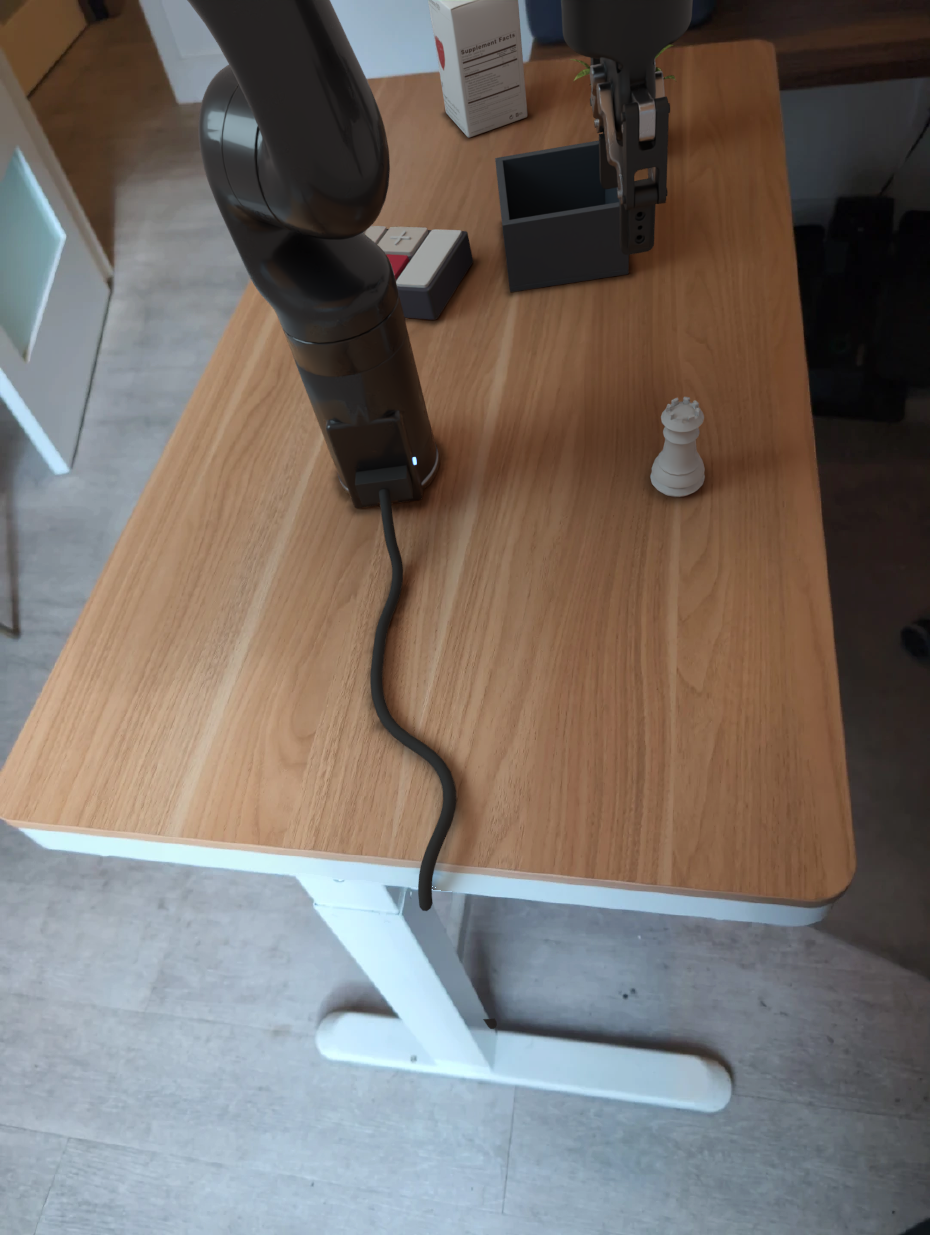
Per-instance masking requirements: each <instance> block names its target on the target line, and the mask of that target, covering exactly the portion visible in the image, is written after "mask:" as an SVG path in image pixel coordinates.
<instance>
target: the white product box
mask: <svg viewBox="0 0 930 1235" xmlns="http://www.w3.org/2000/svg"><path fill="white" fill-rule="evenodd" d="M427 3H428V10H429V15H430V22H431V28H432V29H431V30H432V34H433V41H434V47H435V53H436V60H437V65H438V71H439V79H440V84H441V90H442V97H443V102H444V109H445V110H444V111H445V114H446V115H447V116H448V117H449V118H450V119H451V120H452V121H453V122H454V124H455V125H456V126H457V127H458V128H459V129H460V130H461V131H462V133H464V135H465V136H466V137H467V138H472V137H475V136H478V135H481V134H483V133H486V132H489V131H491V130H492V131H493V130H496V129H498V128H501V127H503V126H506V125H509V124H511V123H514V122H517V121H521V120H523V119H525V118H528V106H527V104H528V103H527V94H526V82H525V81H526V80H525V79H526V78H525V69H524V54H523V43H522V30H521V18H520V6H519V0H427Z"/></svg>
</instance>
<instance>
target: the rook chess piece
mask: <svg viewBox="0 0 930 1235" xmlns="http://www.w3.org/2000/svg"><path fill="white" fill-rule="evenodd" d="M699 406H700V403H699V402H698V401H697V400H696V399H695V400H693V401H692V402H691V397H688V396H683V398H682V401H679V397H675V398H673V399H671V403H667V405H666V407H665V409H664V410H663V411H662V412H661V416H660V420H661V424H662V425H663V426H664V427H663V430H662V434H663V437H664V443H663V448H662V449H661V451H660V452H659V453H658V455H657V456H656V457H655V458H654V461H653V463H652V467H651V473H650V476H649V477H650V481H651V484H652V485H653V487H654V488H655V489H656V490H657V491H658V492H659V493H661V494H663V495H665V496H668V497H672V498H682V497H688V496H689V495H691V494H694V493H696V492H697V491H698V490H699V489H700V488H701V487H702V486H703V485H704V481H705V479H706V476H705V470H706V469H705V465H704V460H703V458H702V457H701V455H700V453H699V451H698V448H697V439H698V438H699V435H700V428H699V427H701V425H702V424H703V423H704V420H705V414H704V412H703V411H702V409H701V407H699Z"/></svg>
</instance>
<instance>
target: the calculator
mask: <svg viewBox="0 0 930 1235" xmlns="http://www.w3.org/2000/svg"><path fill="white" fill-rule="evenodd" d="M363 233H364V234H365V235H366V236H368V237H369V238H370V239H371V240H373V241H374V242H375V243H376V244H377V245H378V246H379V247H380V248H381V249H382V250H383V251H384V252H385V254H386V255H387V257H388V258H389V260H390V263H391V265H392V268H393V272H394V275H395V280H396V284H397V288H398V292H399V296H400V301H401V305H402V309H403V313H404V317H405V319H418V320H429V321H430V320H431V321H434V320H437V319H438V318H439V317H440V315H441V314H442V312H443V311H444V309H445V307H446V306H447V304H448V303H449V301H450V299H451V298H452V296H453V295H454V293H455V291H456V290H457V288H458V287H459V285H460V283H462V280H463V279H464V277H465V276H466V274H467V273H468V271H469V268H471V266H472V264H473V263H474V257H473V252H472V247H471V244H470V243H471V242H470V238H469V233H468V231H467V230H461V229H440V228H439V229H435V228H434V229H428V228H427V227H424V226H423V227H421V226H391V227H389V228H387V227H386V226H384V225H371V226H370V227H369V228H368V229H367V230H366V231H364V232H363Z"/></svg>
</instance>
